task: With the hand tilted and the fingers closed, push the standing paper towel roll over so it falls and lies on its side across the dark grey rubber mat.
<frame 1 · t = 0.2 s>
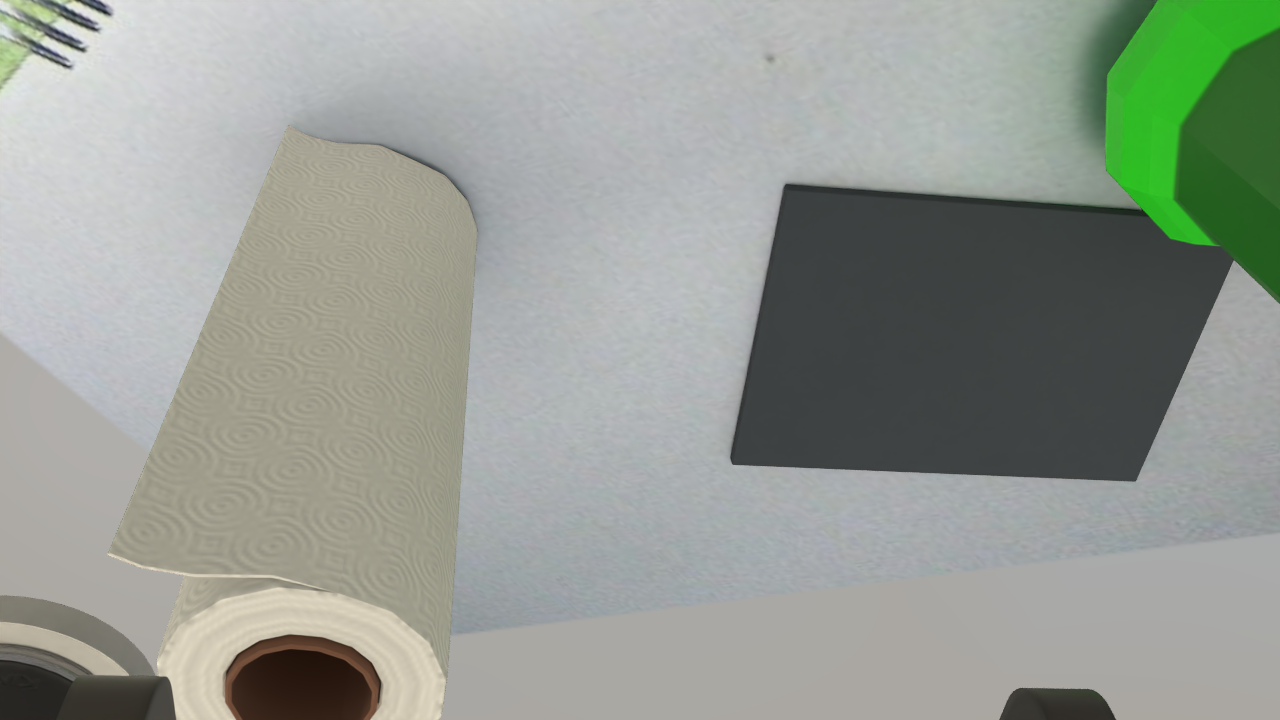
plastic bottle: (1199, 63, 42), on the table
paper towel roll: (391, 212, 43), on the table
mat: (974, 343, 48), on the table
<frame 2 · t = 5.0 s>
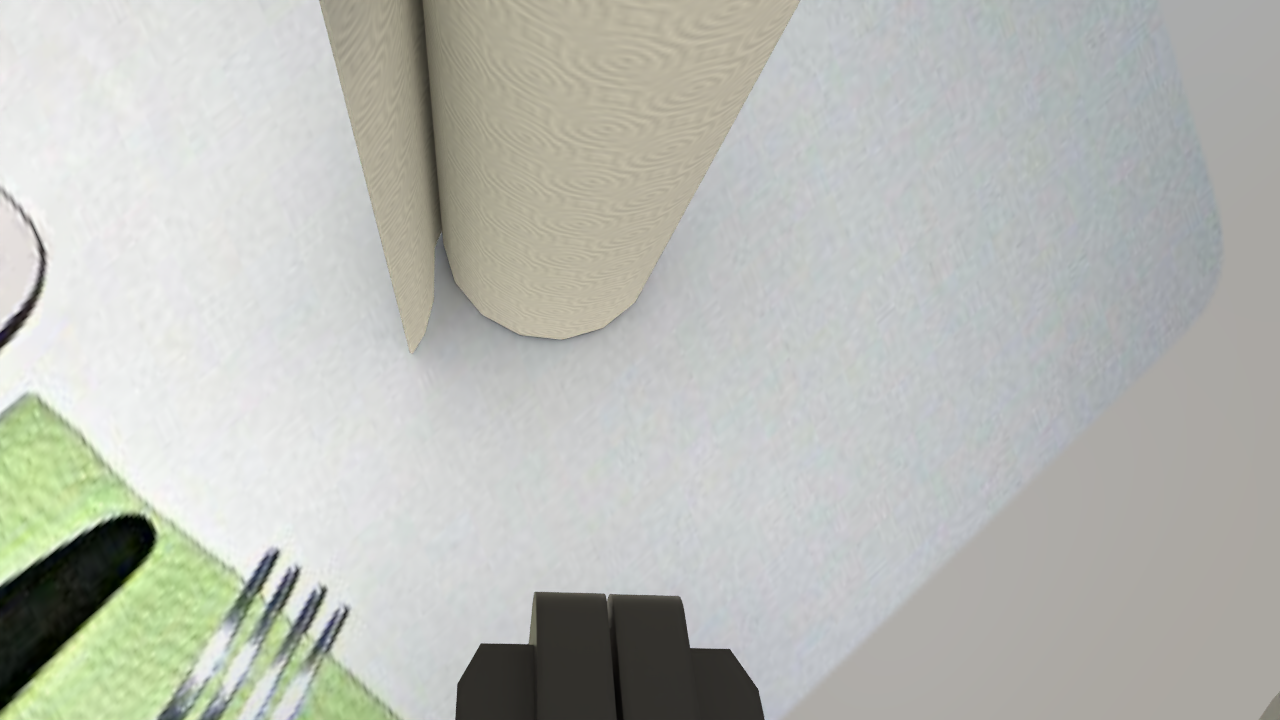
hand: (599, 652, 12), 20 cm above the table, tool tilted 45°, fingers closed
paper towel roll: (530, 243, 34), on the table
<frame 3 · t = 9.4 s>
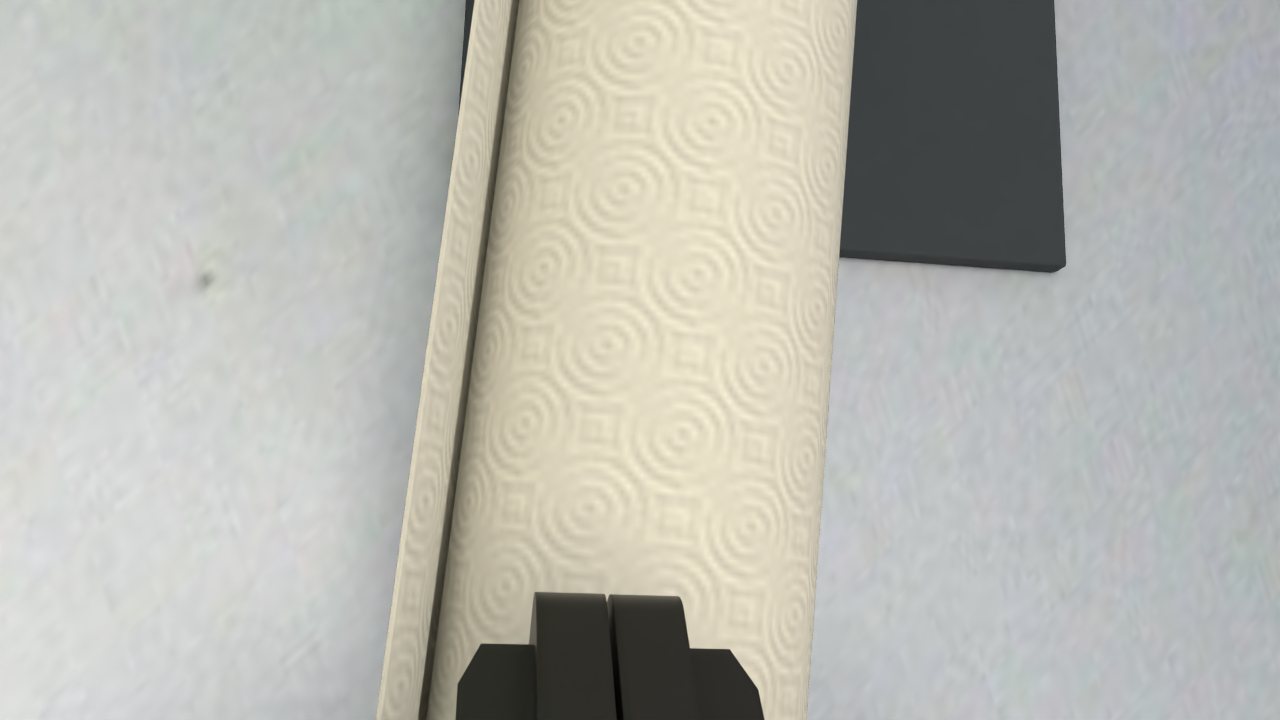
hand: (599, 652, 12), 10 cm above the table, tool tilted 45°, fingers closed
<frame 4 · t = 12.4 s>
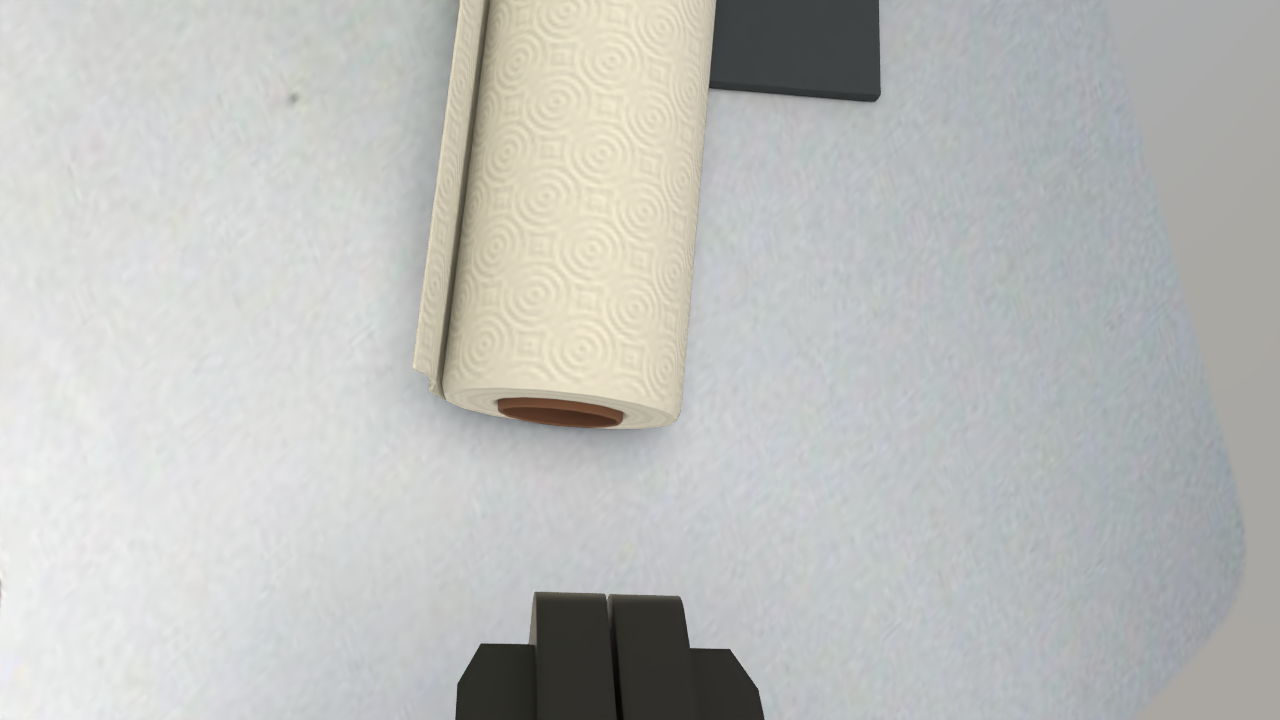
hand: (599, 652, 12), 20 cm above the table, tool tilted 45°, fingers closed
paper towel roll: (536, 422, 30), point 3 cm above the table, touching mat
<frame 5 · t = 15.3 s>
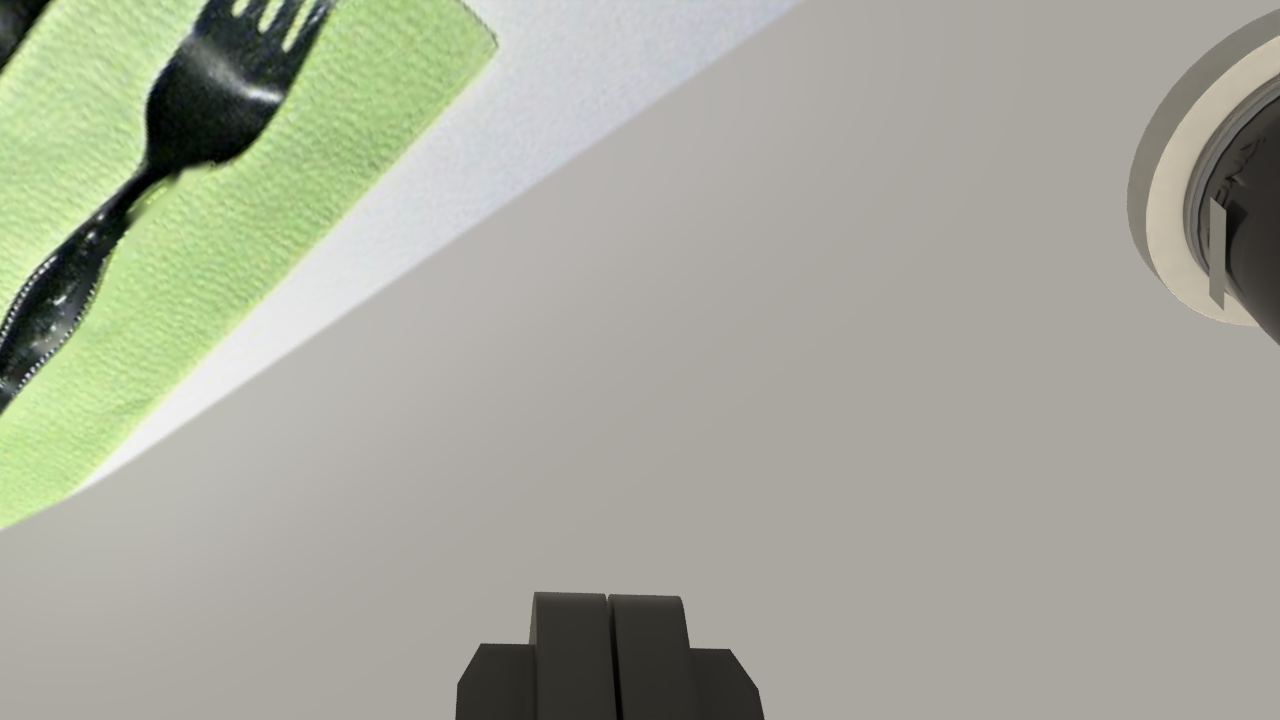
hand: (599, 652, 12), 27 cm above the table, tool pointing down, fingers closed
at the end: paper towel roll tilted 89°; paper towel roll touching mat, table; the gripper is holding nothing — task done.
